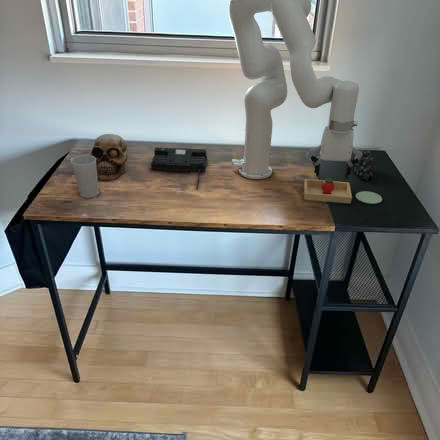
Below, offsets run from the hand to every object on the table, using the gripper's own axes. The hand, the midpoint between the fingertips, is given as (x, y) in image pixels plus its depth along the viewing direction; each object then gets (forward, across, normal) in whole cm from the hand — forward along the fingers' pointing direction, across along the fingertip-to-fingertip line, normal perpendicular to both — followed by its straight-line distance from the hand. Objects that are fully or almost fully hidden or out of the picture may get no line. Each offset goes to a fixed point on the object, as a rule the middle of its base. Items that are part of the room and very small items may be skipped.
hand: (331, 175), depth 151 cm
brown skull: (+6, +81, -6) cm, 81 cm away
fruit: (+8, -13, -19) cm, 25 cm away
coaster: (+8, -14, 0) cm, 16 cm away
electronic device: (+6, +56, -10) cm, 57 cm away
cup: (+6, +82, +14) cm, 83 cm away
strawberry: (+7, +1, 0) cm, 7 cm away
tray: (+7, +1, 0) cm, 7 cm away
